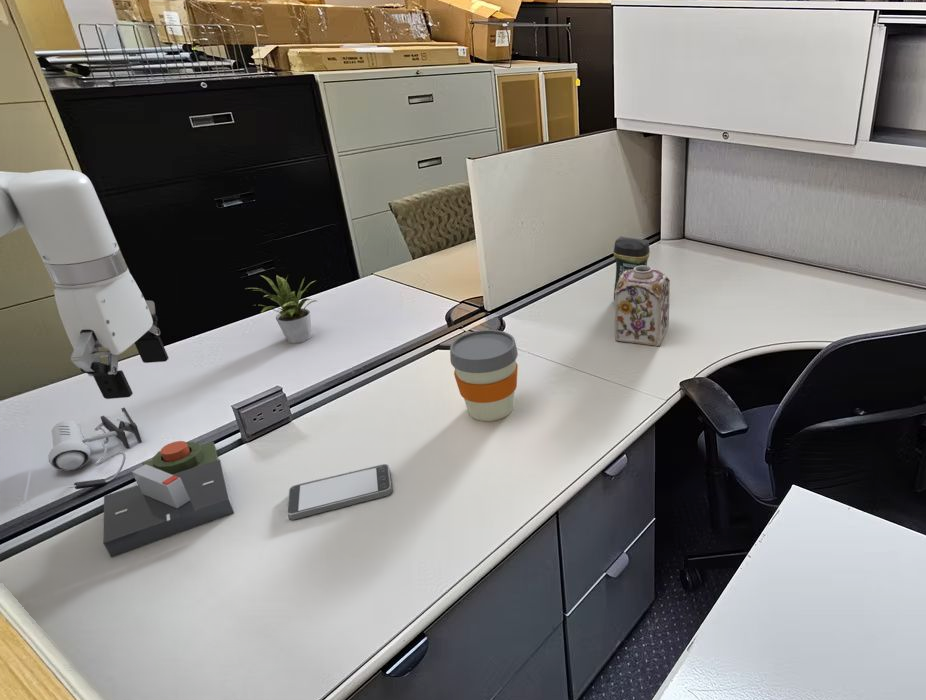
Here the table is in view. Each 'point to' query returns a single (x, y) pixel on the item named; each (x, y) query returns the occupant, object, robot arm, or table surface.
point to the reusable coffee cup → (486, 372)
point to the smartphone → (338, 491)
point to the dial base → (165, 510)
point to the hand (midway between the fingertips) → (138, 378)
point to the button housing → (186, 458)
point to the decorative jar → (642, 306)
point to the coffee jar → (629, 255)
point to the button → (175, 451)
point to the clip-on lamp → (76, 453)
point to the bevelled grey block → (161, 486)
